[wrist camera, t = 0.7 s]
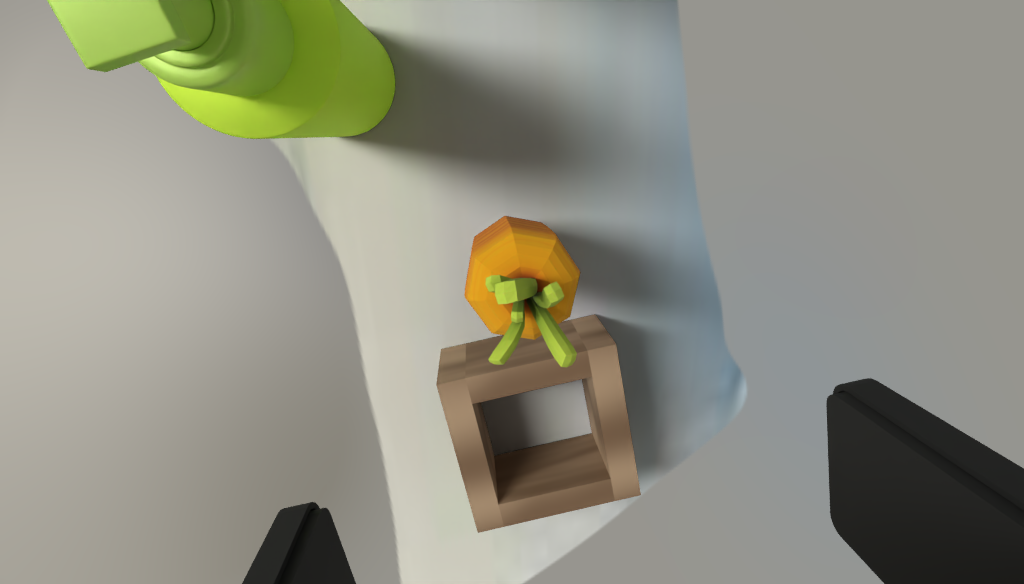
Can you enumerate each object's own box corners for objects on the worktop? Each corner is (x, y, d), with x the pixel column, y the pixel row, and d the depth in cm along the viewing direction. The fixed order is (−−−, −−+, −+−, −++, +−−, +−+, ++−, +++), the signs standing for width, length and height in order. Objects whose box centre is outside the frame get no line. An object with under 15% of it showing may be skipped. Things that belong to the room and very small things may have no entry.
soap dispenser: (363, -17, 28) (127, -355, 8) (411, 117, 30) (307, 88, 11) (256, 19, 28) (-218, -236, 9) (311, 150, 30) (28, 181, 11)
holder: (441, 349, 34) (436, 385, 29) (595, 314, 34) (616, 344, 29) (476, 480, 37) (477, 532, 32) (618, 447, 37) (640, 494, 32)
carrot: (554, 269, 33) (620, 374, 18) (474, 286, 33) (479, 405, 18) (539, 188, 31) (598, 235, 17) (456, 206, 31) (445, 268, 17)
